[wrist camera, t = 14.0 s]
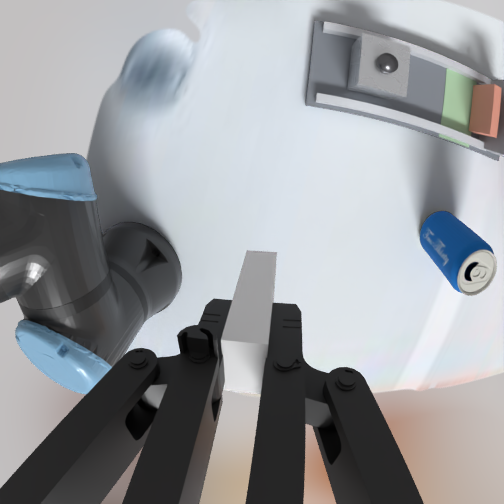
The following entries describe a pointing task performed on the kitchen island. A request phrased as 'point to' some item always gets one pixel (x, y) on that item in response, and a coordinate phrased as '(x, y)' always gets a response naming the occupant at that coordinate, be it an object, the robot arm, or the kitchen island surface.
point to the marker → (485, 109)
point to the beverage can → (458, 253)
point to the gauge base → (418, 91)
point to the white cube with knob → (379, 67)
